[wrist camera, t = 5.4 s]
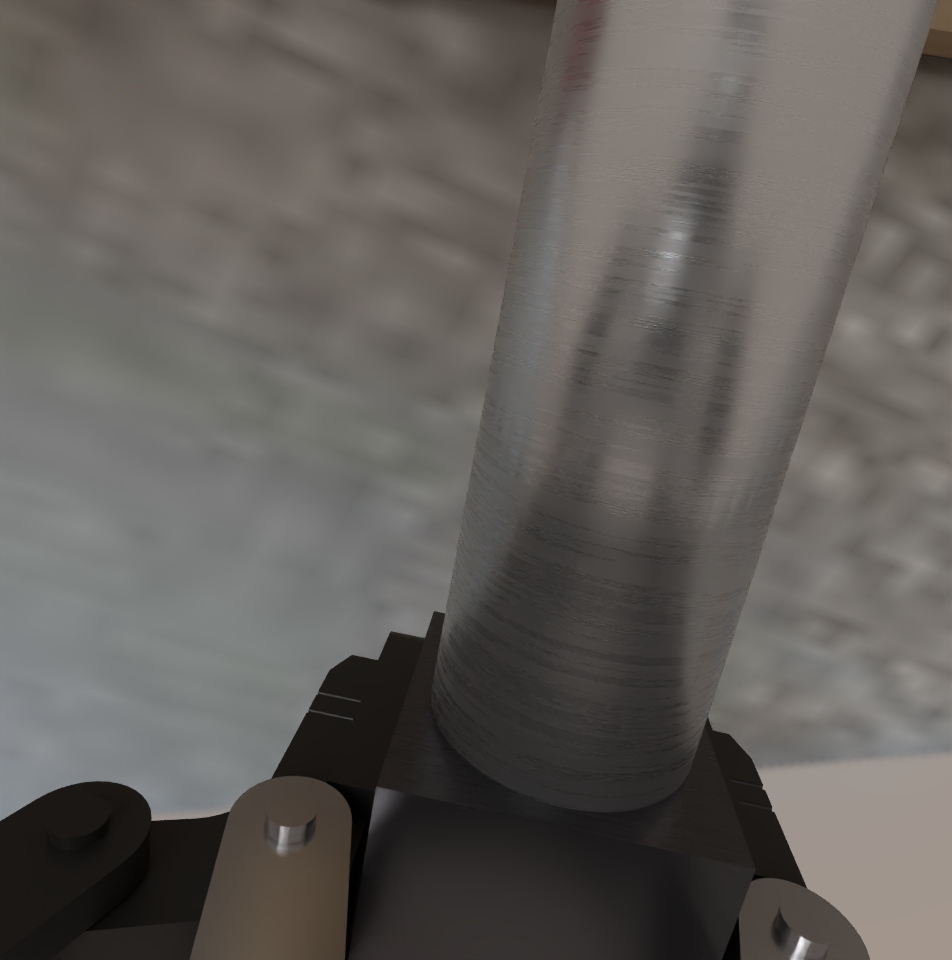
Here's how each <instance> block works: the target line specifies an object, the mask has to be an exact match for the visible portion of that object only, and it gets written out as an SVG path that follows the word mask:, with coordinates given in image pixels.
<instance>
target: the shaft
mask: <svg viewBox="0 0 952 960" xmlns="http://www.w3.org/2000/svg"><path fill="white" fill-rule="evenodd" d="M938 2H939V0H557V4H556V10H555V15H554V21H553V26H552V32H551V37H550V43H549V48H548V54H547V59H546V65H545V70H544V76H543V81H542V87H541V92H540V98H539V103H538V109H537V114H536V119H535V125H534V130H533V136H532V141H531V147H530V152H529V158H528V163H527V169H526V174H525V180H524V185H523V191H522V196H521V202H520V207H519V213H518V218H517V224H516V229H515V234H514V240H513V245H512V251H511V256H510V262H509V267H508V273H507V278H506V284H505V289H504V295H503V300H502V306H501V311H500V317H499V322H498V328H497V333H496V339H495V344H494V350H493V355H492V360H491V366H490V371H489V377H488V382H487V388H486V393H485V399H484V404H483V410H482V415H481V421H480V426H479V432H478V437H477V443H476V448H475V454H474V459H473V465H472V470H471V475H470V481H469V486H468V492H467V497H466V503H465V508H464V514H463V519H462V525H461V530H460V536H459V541H458V547H457V552H456V558H455V563H454V569H453V574H452V580H451V585H450V591H449V596H448V601H447V607H446V612H445V613H440V612H435V611H434V613H433V616H432V619H431V622H430V625H429V628H428V631H427V634H426V637H425V640H424V643H423V646H422V649H421V652H420V655H419V658H418V661H417V664H416V667H415V671H414V674H413V677H412V680H411V683H410V686H409V689H408V692H407V695H406V698H405V701H404V704H403V707H402V710H401V713H400V716H399V719H398V722H397V725H396V728H395V731H394V734H393V737H392V740H391V743H390V746H389V749H388V752H387V755H386V758H385V761H384V765H383V768H382V771H381V774H380V777H379V780H378V783H377V786H376V791H375V797H374V803H373V809H372V815H371V821H370V828H369V834H368V840H367V846H366V852H365V858H364V864H363V870H362V877H361V883H360V889H359V895H358V901H357V907H356V913H355V920H354V926H353V932H352V938H351V942H350V941H346V946H345V960H722V958H723V955H724V953H725V950H726V947H727V945H728V942H729V939H730V937H731V934H732V931H733V929H734V926H735V923H736V921H737V918H738V915H739V913H740V910H741V907H742V905H743V902H744V899H745V897H746V894H747V891H748V889H749V886H750V884H751V881H752V878H753V876H754V873H755V870H756V868H755V866H754V863H753V860H752V857H751V854H750V851H749V849H748V846H747V843H746V840H745V837H744V835H743V832H742V829H741V826H740V823H739V821H738V818H737V815H736V812H735V809H734V806H733V804H732V801H731V798H730V795H729V792H728V790H727V787H726V784H725V781H724V778H723V776H722V773H721V770H720V767H719V764H718V761H717V759H716V756H715V753H714V750H713V747H712V745H711V742H710V739H709V736H708V733H707V731H706V728H705V722H706V719H707V716H708V713H709V710H710V707H711V704H712V701H713V698H714V695H715V692H716V688H717V685H718V682H719V679H720V676H721V673H722V670H723V667H724V664H725V661H726V658H727V654H728V651H729V648H730V645H731V642H732V639H733V636H734V633H735V630H736V627H737V624H738V620H739V617H740V614H741V611H742V608H743V605H744V602H745V599H746V596H747V593H748V590H749V586H750V583H751V580H752V577H753V574H754V571H755V568H756V565H757V562H758V559H759V556H760V552H761V549H762V546H763V543H764V540H765V537H766V534H767V531H768V528H769V525H770V521H771V518H772V515H773V512H774V509H775V506H776V503H777V500H778V497H779V494H780V491H781V487H782V484H783V481H784V478H785V475H786V472H787V469H788V466H789V463H790V460H791V457H792V453H793V450H794V447H795V444H796V441H797V438H798V435H799V432H800V429H801V426H802V423H803V419H804V416H805V413H806V410H807V407H808V404H809V401H810V398H811V395H812V392H813V389H814V385H815V382H816V379H817V376H818V373H819V370H820V367H821V364H822V361H823V358H824V355H825V351H826V348H827V345H828V342H829V339H830V336H831V333H832V330H833V327H834V324H835V320H836V317H837V314H838V311H839V308H840V305H841V302H842V299H843V296H844V293H845V290H846V286H847V283H848V280H849V277H850V274H851V271H852V268H853V265H854V262H855V259H856V256H857V252H858V249H859V246H860V243H861V240H862V237H863V234H864V231H865V228H866V225H867V222H868V218H869V215H870V212H871V209H872V206H873V203H874V200H875V197H876V194H877V191H878V188H879V184H880V181H881V178H882V175H883V172H884V169H885V166H886V163H887V160H888V157H889V154H890V150H891V147H892V144H893V141H894V138H895V135H896V132H897V129H898V126H899V123H900V120H901V116H902V113H903V110H904V107H905V104H906V101H907V98H908V95H909V92H910V89H911V85H912V82H913V79H914V76H915V73H916V70H917V67H918V64H919V61H920V58H921V55H922V51H923V48H924V45H925V42H926V39H927V36H928V33H929V30H930V27H931V24H932V21H933V17H934V14H935V11H936V8H937V5H938Z"/></svg>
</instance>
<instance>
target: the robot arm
mask: <svg viewBox="0 0 952 960" xmlns="http://www.w3.org/2000/svg"><path fill="white" fill-rule="evenodd" d="M424 640H425V638H421V637H416V636H412V635H407V634H402V633H397V632H392V631H391V632H390V634H389V636H388V638H387V641H386V643H385V645H384V648H383V650H382V653H381V655H380V657H379V660H374V659H369V658H364V657H359V656H355V655H351V656H350V657H348V658H347V659H345V660H344V661H342V662H341V663H339V664H338V665H336V666H335V667H334V668H332V669H331V670H330V671H329V672H328V674H327V676H326V678H325V680H324V682H323V684H322V685H321V687H320V689H319V692H318V695H316V697H315V698H314V700H313V702H312V704H311V706H310V708H309V712H308V713H306V715H305V717H304V719H303V721H302V723H301V724H300V726H299V728H298V730H297V732H296V734H295V736H294V737H293V739H292V741H291V743H290V745H289V747H288V749H287V750H286V752H285V754H284V756H283V758H282V760H281V762H280V763H279V765H278V767H277V769H276V771H275V773H274V775H273V776H272V778H271V779H270V780H266V781H264V782H261V783H259V784H257V785H255V786H253V787H252V788H250V789H249V790H247V791H246V792H245V793H243V794H242V795H241V796H240V797H239V798H238V800H237V801H236V802H235V803H234V805H233V807H232V808H231V810H230V812H227V813H224V814H221V815H216V816H212V817H206V818H197V819H179V820H160V821H151V810H150V807H149V805H148V802H147V801H146V800H145V798H144V797H143V796H142V795H141V794H140V793H138V792H137V791H136V790H134V789H132V788H130V787H128V786H125V785H122V784H119V783H113V782H101V781H95V782H84V783H78V784H73V785H70V786H66V787H63V788H60V789H57V790H55V791H52V792H50V793H48V794H46V795H44V796H42V797H40V798H38V799H36V800H35V801H33V802H31V803H30V804H28V805H26V806H25V807H23V808H21V809H20V810H18V811H16V812H15V813H13V814H11V815H10V816H8V817H6V818H5V819H3V820H1V821H0V960H345V946H346V941H350V942H351V938H352V932H353V926H354V920H355V913H356V907H357V901H358V895H359V889H360V883H361V877H362V870H363V864H364V858H365V852H366V846H367V840H368V834H369V828H370V821H371V815H372V809H373V803H374V797H375V791H376V786H377V783H378V780H379V777H380V774H381V771H382V768H383V765H384V761H385V758H386V755H387V752H388V749H389V746H390V743H391V740H392V737H393V734H394V731H395V728H396V725H397V722H398V719H399V716H400V713H401V710H402V707H403V704H404V701H405V698H406V695H407V692H408V689H409V686H410V683H411V680H412V677H413V674H414V671H415V667H416V664H417V661H418V658H419V655H420V652H421V649H422V646H423V643H424ZM705 728H706V731H707V733H708V736H709V739H710V742H711V745H712V747H713V750H714V753H715V756H716V759H717V761H718V764H719V767H720V770H721V773H722V776H723V778H724V781H725V784H726V787H727V790H728V792H729V795H730V798H731V801H732V804H733V806H734V809H735V812H736V815H737V818H738V821H739V823H740V826H741V829H742V832H743V835H744V837H745V840H746V843H747V846H748V849H749V851H750V854H751V857H752V860H753V863H754V866H755V868H756V870H755V873H754V876H753V878H752V881H751V884H750V886H749V889H748V891H747V894H746V897H745V899H744V902H743V905H742V907H741V910H740V913H739V915H738V918H737V921H736V923H735V926H734V929H733V931H732V934H731V937H730V939H729V942H728V945H727V947H726V950H725V953H724V955H723V958H722V960H870V958H869V955H868V952H867V949H866V947H865V945H864V943H863V941H862V939H861V937H860V936H859V934H858V933H857V931H856V930H855V928H854V927H853V926H852V925H851V923H850V922H849V921H848V920H847V919H846V918H845V917H844V916H843V915H842V914H841V913H840V912H839V911H838V910H837V909H836V908H835V907H834V906H832V905H831V904H830V903H829V902H827V901H826V900H825V899H823V898H822V897H820V896H819V895H817V894H816V893H814V892H812V891H810V890H808V889H807V887H806V885H805V882H804V880H803V878H802V875H801V873H800V871H799V868H798V866H797V864H796V861H795V859H794V857H793V855H792V852H791V850H790V848H789V845H788V843H787V840H786V838H785V836H784V833H783V831H782V829H781V826H780V824H779V822H778V820H777V817H776V815H775V813H774V812H772V805H771V803H770V801H769V798H768V796H767V794H766V791H765V790H763V789H762V787H763V784H762V782H761V779H760V777H759V775H758V772H757V770H756V768H755V765H754V763H753V761H752V759H751V758H750V757H749V755H748V754H747V753H746V752H745V751H744V750H743V749H742V748H741V747H740V746H739V744H738V743H737V742H736V741H735V740H734V739H733V738H732V737H731V736H730V735H729V734H726V733H721V732H717V731H713V730H712V727H711V725H710V722H709V719H708V716H707V719H706V722H705Z"/></svg>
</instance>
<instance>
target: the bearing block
mask: <svg viewBox="0 0 952 960" xmlns="http://www.w3.org/2000/svg"><path fill="white" fill-rule="evenodd" d="M922 54H927V55H933V56H939V57H945V58H951V59H952V0H939V2H938V5H937V8H936V11H935V14H934V17H933V21H932V24H931V27H930V30H929V33H928V36H927V39H926V42H925V45H924V48H923V51H922Z"/></svg>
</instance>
